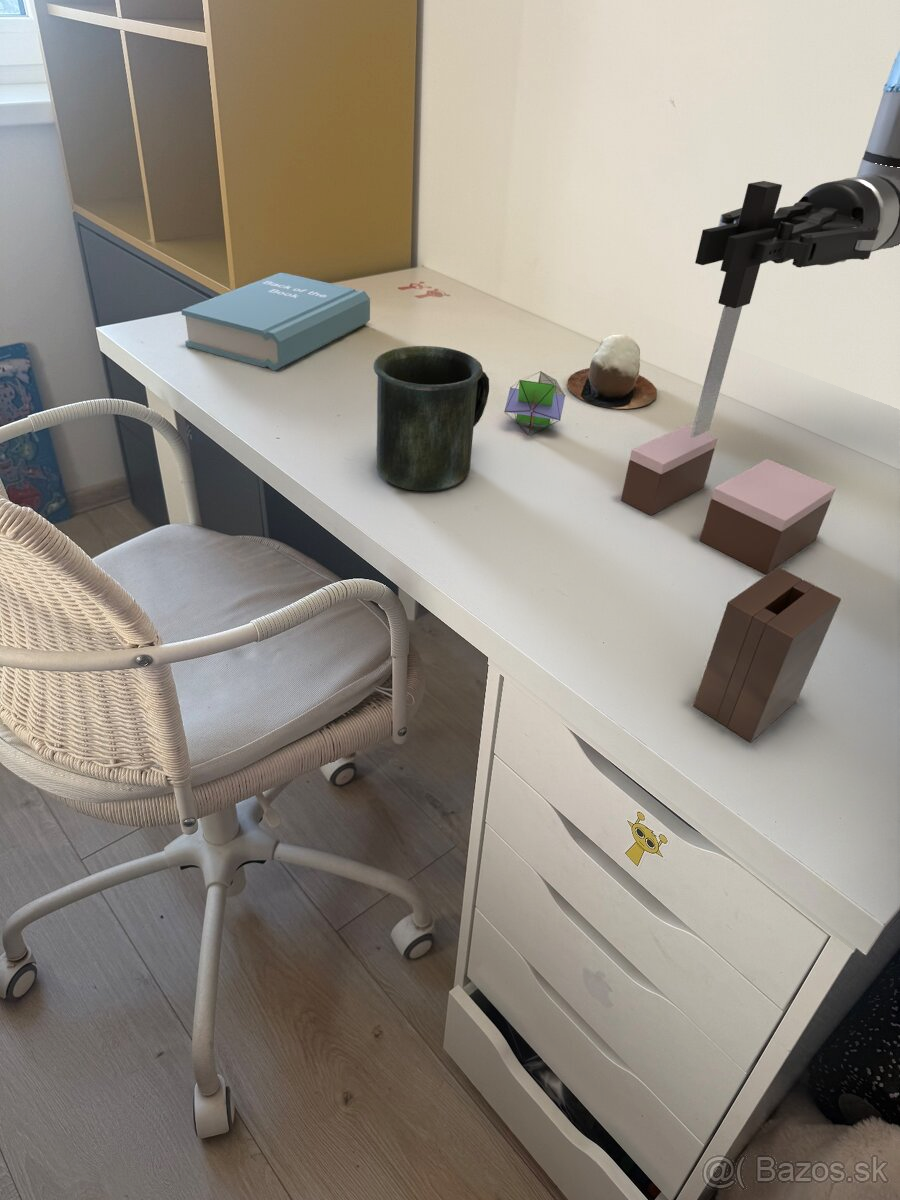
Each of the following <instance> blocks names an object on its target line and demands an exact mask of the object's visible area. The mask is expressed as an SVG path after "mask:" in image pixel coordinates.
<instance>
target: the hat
mask: <svg viewBox="0 0 900 1200" xmlns="http://www.w3.org/2000/svg"><path fill="white" fill-rule="evenodd" d="M640 367H641V349H640V346H639V344H638V343H637V342H636V341H635V339H633V338H632V337H630V336H628V335H626V334H612V335H609V336H607V337H606V338H604V339H602V340H601V341H600V343H599V347H597V349H595V351H594V354H593V356H592V358H591V360H590V365H589V368H583V369H580V370H577V371H575V372H574V373H572V374H570V376H569V377H568V379H567V381H566V382H567V383H566V384H567V388H568V390H570V392H571V393H572V394H573V395H574V396H576V397H577V398H579V399H580V400H581V401H584V402H585V403H588V404H591V405H593V406H597V407H602V408H607V409H608V408H609V409H616V410H617V409H620V410H625V409H628V410H629V409H636V408H641V407H645V406H647V405H649V404H651V403H652V402H654V401H655V399H656V398H657V395H658V390H657V388H656V386H655V385H654V384H653V383H652V382H651V381H650V380H649V379H648V378H646V376H642V375H641V374H640V369H641V368H640Z"/></svg>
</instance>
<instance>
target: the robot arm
mask: <svg viewBox="0 0 900 1200" xmlns="http://www.w3.org/2000/svg"><path fill="white" fill-rule="evenodd" d="M882 90H883V93H882V95H881V97H880V103H879V106H878V108H877V112H876V115H875V118H874V121H873V125H872V128H871V132H870V135H869V138H868V141H867V144H866V147H865V150H864V154H863V157H862V158H861V161H860V164H859V167H858V171H857V173H856V176H852V177H846V178H843V179H840V180H839V179H838V180H833V181H828V182H824V183H821V184H818V185H815V186H814V187H813V188H811V189H809V190H808V191H807V192H806V193H804V195H803V196H802V197H801V198H800V199H799V200H798V201H797V202H795V203H794V204H793V205H789V206H782V207H781V206H780V207H779V208H777V210H775V213H774V217H773V220H772V224H771V228H765V229H761V230H756V231H751V232H747V233H743V234H738V235H735V234H736V230H737V226H738V222H739V218H740V214H741V210H742V207H740V208H738V209H734V210H731V211H728V212H725V213H721V214H720V218H719V222H718V226H714V227H709V228H705V229H702V231H701V236H700V239H699V245H698V248H697V254H696V257H695V261H694V264H696V265H699V266H705V265H710V264H714V263H718V262H721V266H720V270H719V271H720V272H724V273H726V272H727V273H729V272H733V271H736V270H740V269H744V268H747V267H751V266H755V265H758V264H760V265H761V264H765V263H768V262H773V264H783V263H786V262H788V261H791V260H792V262H791V263H792V266H795V268H807V267H812V266H829V265H834V264H838V263H845V262H847V260H861V261H864V260H869V259H870V257H871V253H872V252H877V251H879V250H885V249H886V250H887V249H892V248H895V247H897V246H900V245H899V244H900V168H897V167H900V48H899V49H898V51H897V54H896V57H895V59H894V62H893V63H892V66H891V70H890V72H889V75H888V78H887V81H886V83H885V84H884V86H883V89H882ZM875 163H877V164H875ZM880 164H882V165H880ZM885 165H887V166H885ZM890 166H893V167H890ZM894 246H895V247H894Z"/></svg>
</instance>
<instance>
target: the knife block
mask: <svg viewBox="0 0 900 1200" xmlns="http://www.w3.org/2000/svg"><path fill="white" fill-rule="evenodd" d="M841 600H842V598H841V597H839V596H837V595H835V594H833V593H831V592H829V591H827V590H825V589H823V588H821V587H819V586H817V585H815V584H813V583H811V582H809V581H807V580H805V579H803V578H801V577H800V576H797V575H796V574H794V573H791V572H789V571H787V570H786V569H783V568H782V567H779V566H777V567H776V568H775V569H773V570H772V571H770V572H769V573H767V574H765V576H763V577H762V578H760V579H759V580H757V581H756V582H755V583H753V584H752V585H750V586H748V587H747V588H746V589H745V590H743V591H742V592H740V593H739V594H737V595H736V596H734V597H733V598H732V599H731V600H729V601H728V602H727V603H726V606H725V609H724V612H723V614H722V618H721V621H720V624H719V627H718V630H717V633H716V637H715V639H714V642H713V645H712V648H711V651H710V653H709V654H710V655H709V657H708V661H707V664H706V667H705V669H704V673H703V675H702V677H701V678H702V679H701V682H700V684H699V687H698V690H697V692H696V696H695V699H694V702H693V707H694V708H695V709H697V710H699V711H701V712H702V713H704V714H705V715H707V716H708V717H710V718H711V719H713V720H714V721H716V722H718V723H719V724H721V725H722V726H724V727H726V728H727V729H729V730H730V731H731V732H733V733H735V734H736V735H738V736H740V737H741V738H743V739H744V740H746V741H748V742H749V743H752V742H753V741H754V740H755V739H756V738H758V737H759V736H760V735H761V734H762V733H763V732H764V731H765V730H767V729H768V727H770V726H771V725H772V724H773V723H774V722H775V721H776V720H777V719H779V718H780V717H781V716H782V715H783V714H784V713H785V712H786V711H787V710H788V709H789V708H790V707H792V706H793V705H794V704H795V703H796V702H797V701H798V699H799V697H800V695H801V692H802V690H803V687H804V686H805V683H806V680H807V679H808V677H809V674H810V671H811V670H812V667H813V665H814V662H815V661H816V658H817V655H818V653H819V651H820V649H821V646H822V644H823V642H824V639H825V637H826V635H827V632H828V631H829V628H830V626H831V624H832V621H833V619H834V618H835V617H834V616H835V614H836V612H837V609H838V608H839V605H840V603H841Z"/></svg>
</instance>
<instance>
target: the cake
mask: <svg viewBox="0 0 900 1200" xmlns="http://www.w3.org/2000/svg"><path fill="white" fill-rule="evenodd" d="M836 489H837V488H836V486H835V487H834V486H832V485H831V484H827V483H825V482H823V481H821V480H818V479H816V478H813V477H812V476H811V477H810V476H809V475H807V474H804V473H802V472H799V471H796V470H794V469H792V468H790V467H787V466H785V465H783V464H781V463H778V462H775V461H773V460H771V459H769V458H766V459H764V460H763V461H761V462H759V463H757V464H756V465H754V466H752V467H750V468H749V469H747V470H745V471H743V472H741V473H739V474H738V475H736V476H734V477H732V478H730V479H728V480H726V481H724V482H722V483H721V484H718V485H717V486H716V487H714V488H713V492H712V496H711V499H710V503H709V506H708V509H707V513H706V516H705V520H704V522H703V526H702V530H701V533H700V536H699V542H702V543H704V544H706V545H707V546H709V547H711V548H714V549H715V550H717V551H720V552H722V553H723V554H726V555H727V556H729V557H731V558H733V559H735V560H737V561H739V562H741V563H743V564H745V565H746V566H749V567H751V568H753V569H755V570H757V571H759V572H760V573H763V574H764V575H767V574H769V573H770V572H772V571H773V570H774V569H776V568H777V567H779V566H780V565H781V564H783V563H784V562H786V561H787V560H789V559H790V558H791V557H793V556H794V555H796V554H797V553H799V552H800V551H802V550H803V549H805V548H806V547H807V546H809V545H810V544H811V543H813V542H814V541H816V540H817V537H818V535H819V532H820V530H821V528H822V526H823V523H824V519H825V517H826V514H827V512H828V510H829V507H830V505H831V502H832V499H833V497H834V494H835V492H836Z"/></svg>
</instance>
